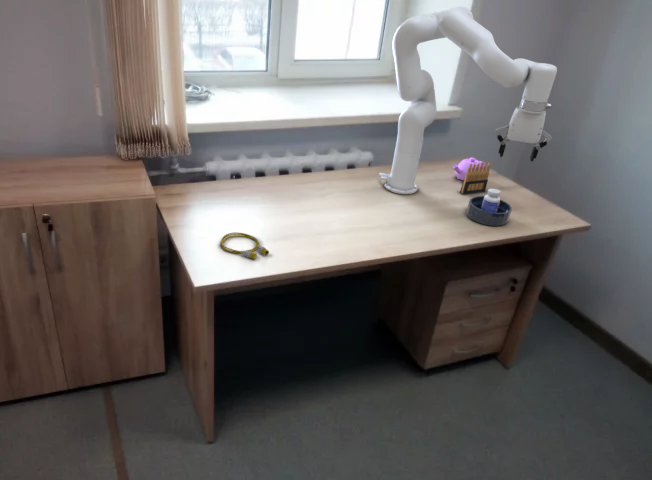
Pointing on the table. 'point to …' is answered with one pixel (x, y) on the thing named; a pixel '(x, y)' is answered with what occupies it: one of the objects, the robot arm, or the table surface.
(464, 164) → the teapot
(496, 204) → the pill bottle
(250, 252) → the extension cord
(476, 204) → the bowl
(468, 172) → the ammunition clip
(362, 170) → the table surface
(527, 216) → the table surface
